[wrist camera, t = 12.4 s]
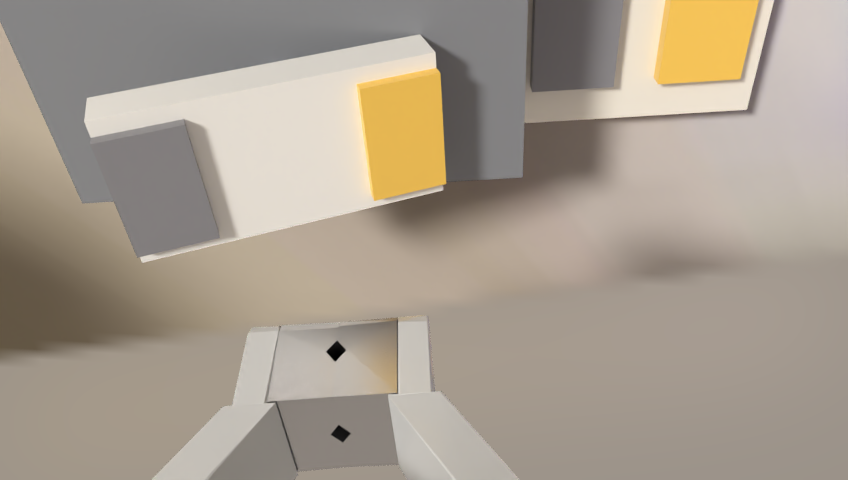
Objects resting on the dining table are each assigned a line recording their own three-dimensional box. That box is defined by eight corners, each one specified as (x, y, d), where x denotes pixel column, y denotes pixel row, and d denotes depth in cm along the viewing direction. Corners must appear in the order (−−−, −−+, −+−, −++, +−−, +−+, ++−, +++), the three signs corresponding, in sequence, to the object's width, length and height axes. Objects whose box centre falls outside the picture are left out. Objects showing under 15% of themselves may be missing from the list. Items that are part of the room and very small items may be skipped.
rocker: (142, 235, 18) (142, 270, 17) (86, 97, 16) (83, 128, 15) (429, 168, 20) (446, 196, 19) (420, 34, 18) (439, 56, 17)
